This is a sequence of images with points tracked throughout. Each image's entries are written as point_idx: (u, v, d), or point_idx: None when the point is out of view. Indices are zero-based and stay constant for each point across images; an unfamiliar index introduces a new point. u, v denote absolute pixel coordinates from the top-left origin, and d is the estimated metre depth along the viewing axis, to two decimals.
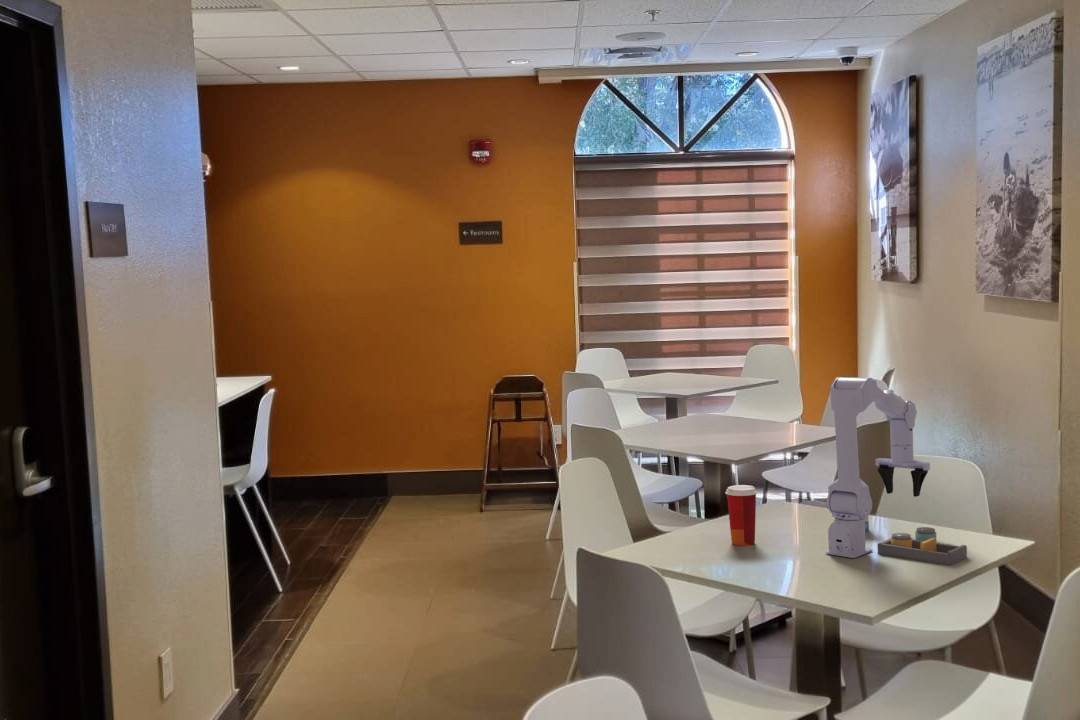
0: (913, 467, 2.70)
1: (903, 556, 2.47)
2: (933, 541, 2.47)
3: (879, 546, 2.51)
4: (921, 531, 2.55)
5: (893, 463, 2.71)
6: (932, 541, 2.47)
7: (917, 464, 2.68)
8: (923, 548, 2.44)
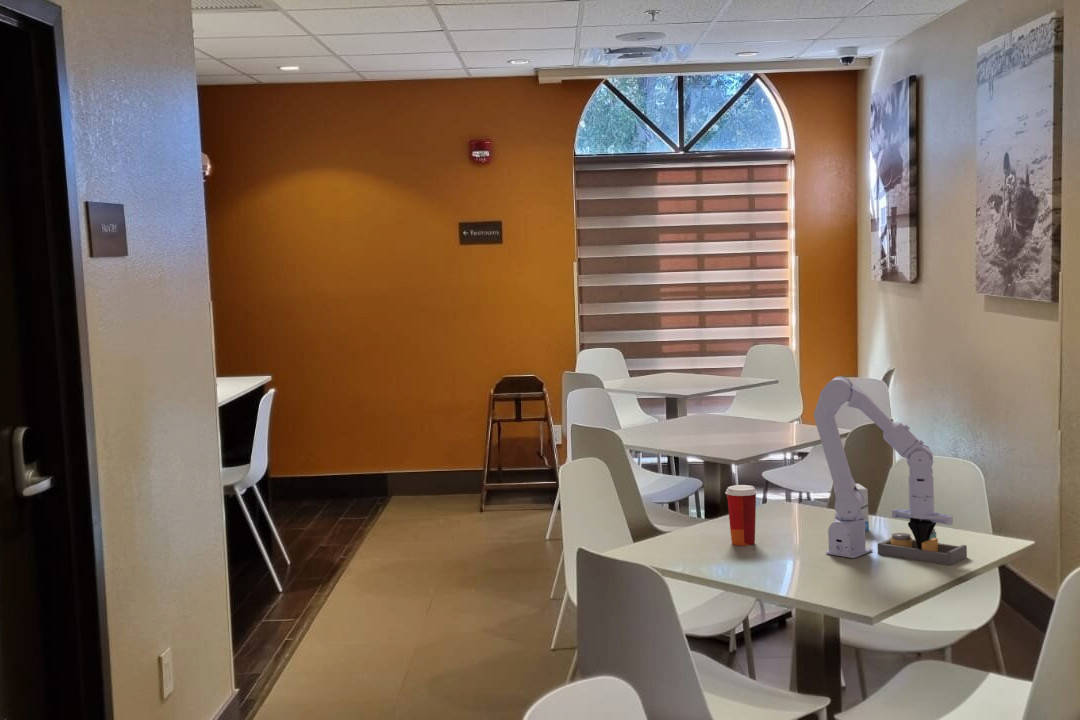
0: (934, 520, 2.45)
1: (903, 556, 2.47)
2: (934, 541, 2.47)
3: (879, 546, 2.51)
4: None
5: (912, 516, 2.46)
6: (933, 541, 2.47)
7: (939, 517, 2.43)
8: (924, 548, 2.44)
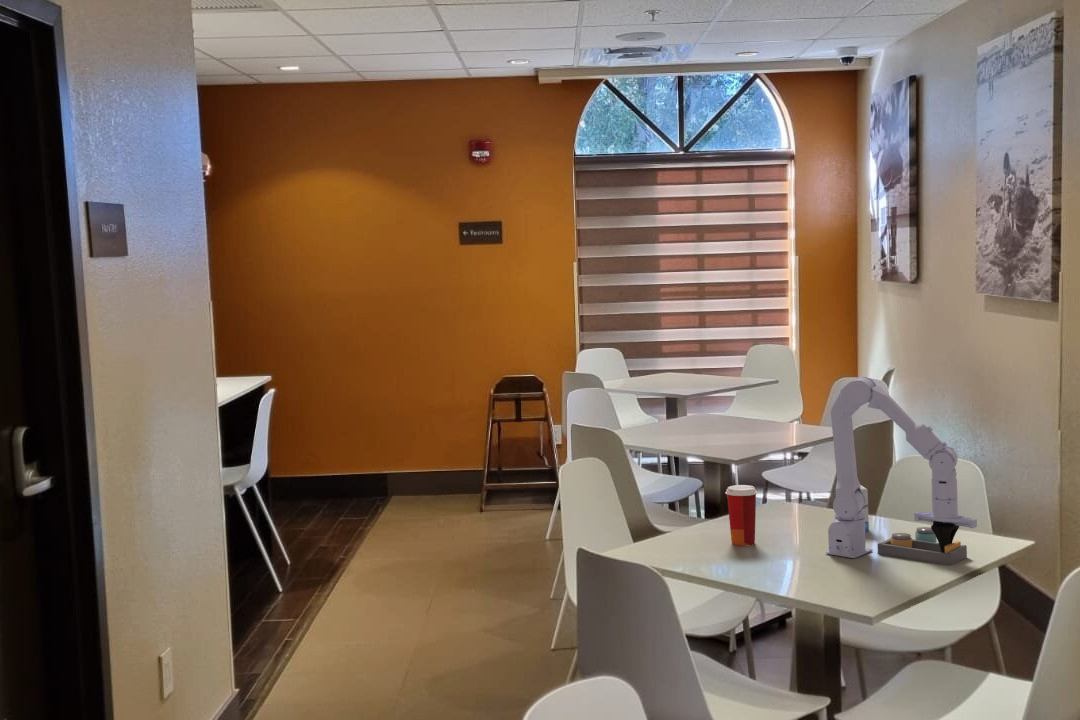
0: (957, 524, 2.41)
1: (903, 556, 2.47)
2: (957, 544, 2.43)
3: (879, 546, 2.51)
4: (921, 531, 2.55)
5: (935, 519, 2.42)
6: (956, 545, 2.43)
7: (963, 520, 2.39)
8: None
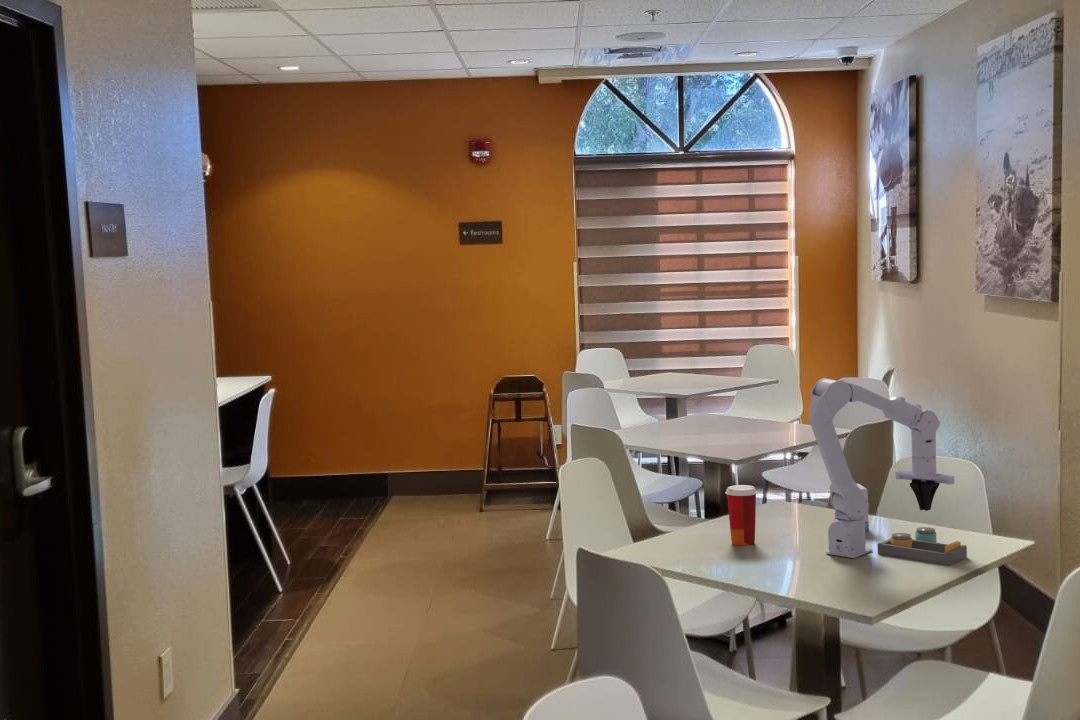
0: (936, 481, 2.53)
1: (903, 556, 2.47)
2: (957, 544, 2.43)
3: (879, 546, 2.51)
4: (921, 531, 2.55)
5: (915, 476, 2.54)
6: (956, 545, 2.43)
7: (941, 477, 2.51)
8: None
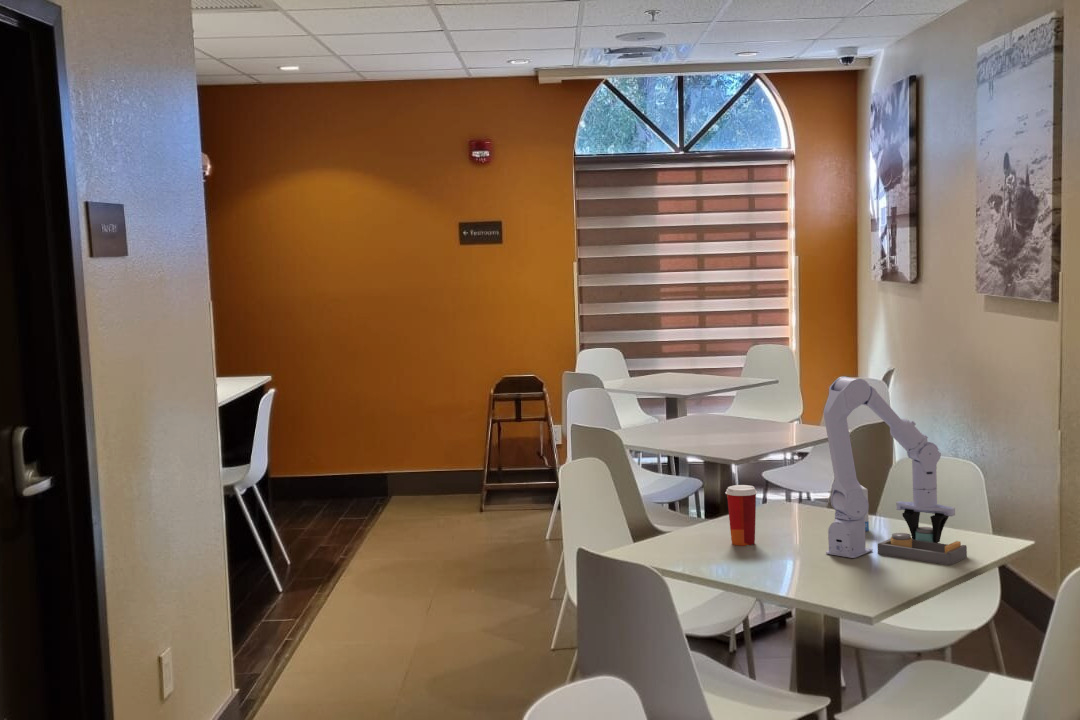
0: (937, 512, 2.54)
1: (903, 556, 2.47)
2: (957, 544, 2.43)
3: (879, 546, 2.51)
4: (921, 531, 2.55)
5: (915, 508, 2.55)
6: (956, 545, 2.43)
7: (942, 509, 2.52)
8: None
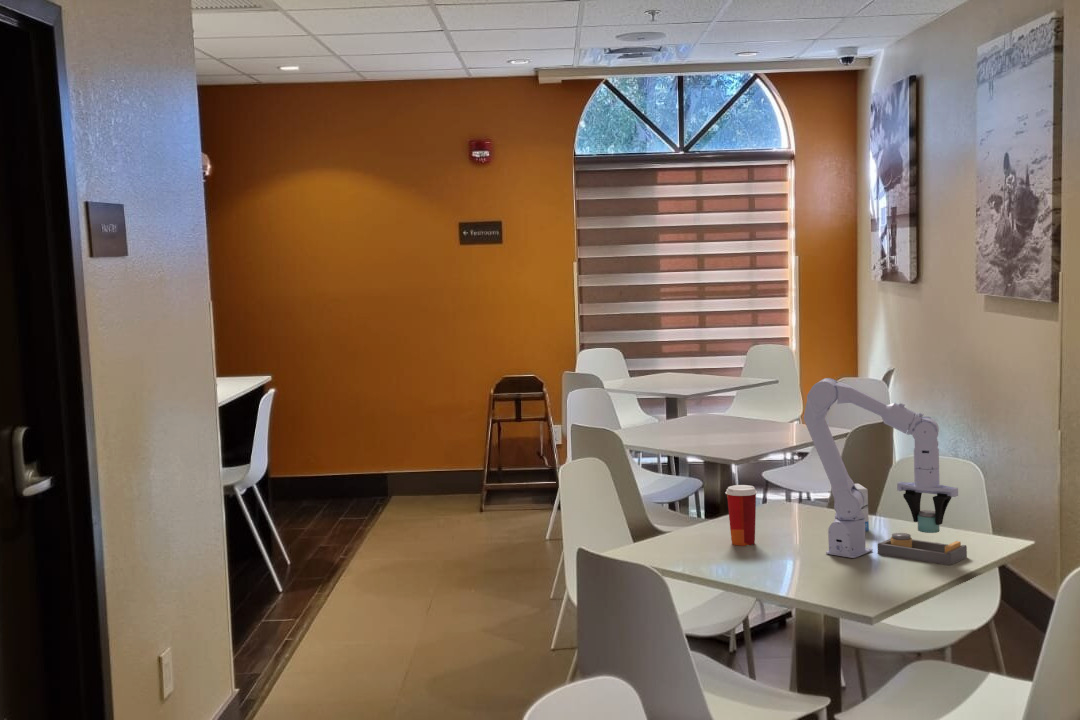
0: (939, 493, 2.43)
1: (903, 556, 2.47)
2: (957, 544, 2.43)
3: (879, 546, 2.51)
4: (924, 514, 2.45)
5: (917, 488, 2.45)
6: (956, 545, 2.43)
7: (944, 489, 2.41)
8: None
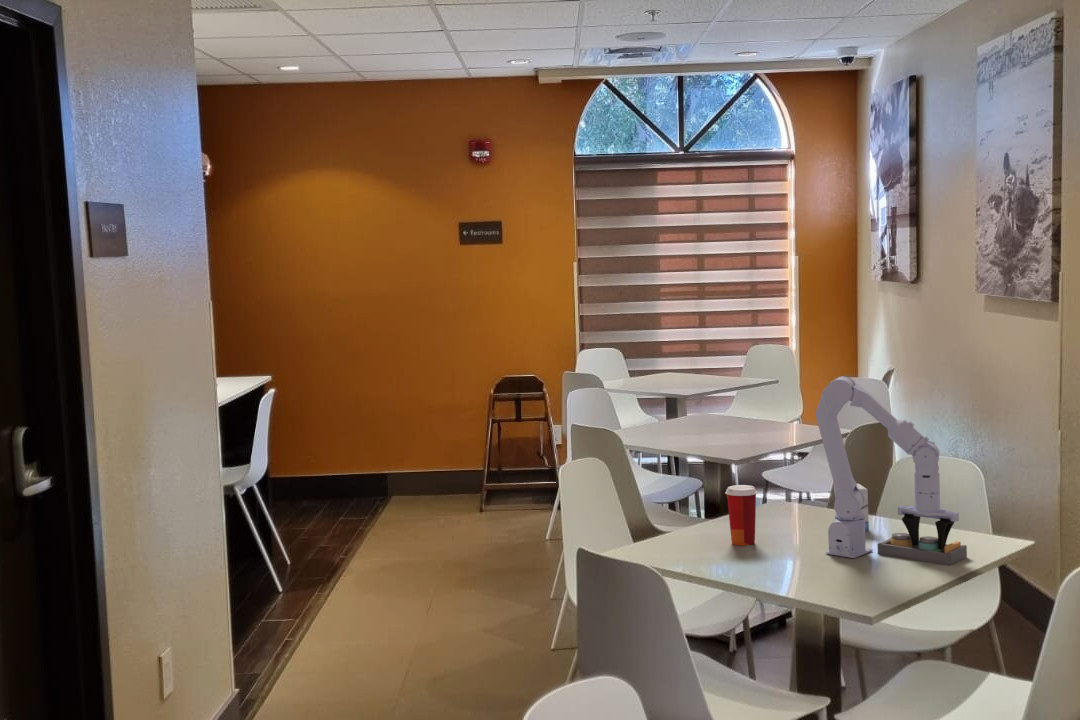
0: (940, 517, 2.44)
1: (903, 556, 2.47)
2: (957, 544, 2.43)
3: (879, 546, 2.51)
4: (925, 541, 2.45)
5: (918, 513, 2.45)
6: (956, 545, 2.43)
7: (945, 514, 2.42)
8: None
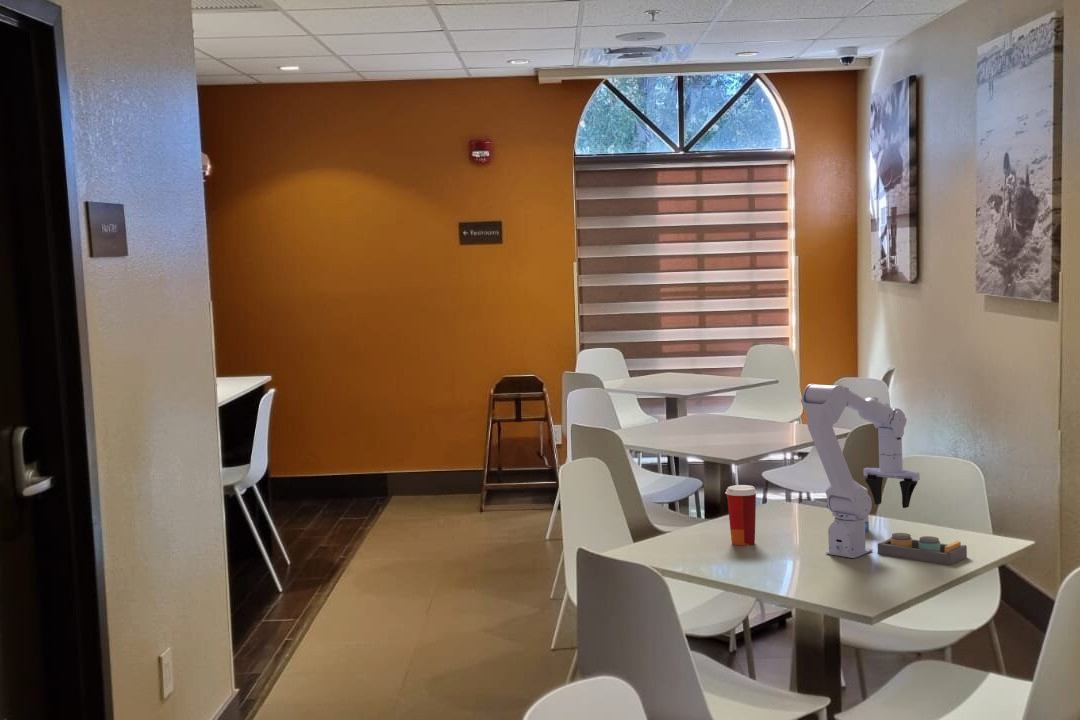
0: (902, 477, 2.60)
1: (903, 556, 2.47)
2: (957, 544, 2.43)
3: (879, 546, 2.51)
4: (925, 540, 2.45)
5: (881, 473, 2.61)
6: (956, 545, 2.43)
7: (906, 474, 2.58)
8: None
